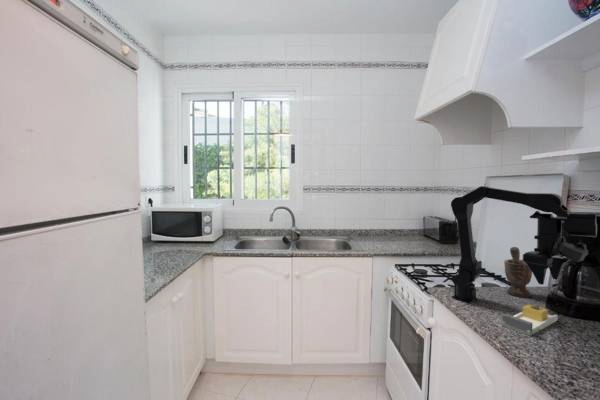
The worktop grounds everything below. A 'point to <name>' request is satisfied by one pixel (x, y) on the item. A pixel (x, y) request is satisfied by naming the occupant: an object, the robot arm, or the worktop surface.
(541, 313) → the carriage
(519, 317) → the rail
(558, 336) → the worktop surface
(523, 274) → the mortar and pestle
